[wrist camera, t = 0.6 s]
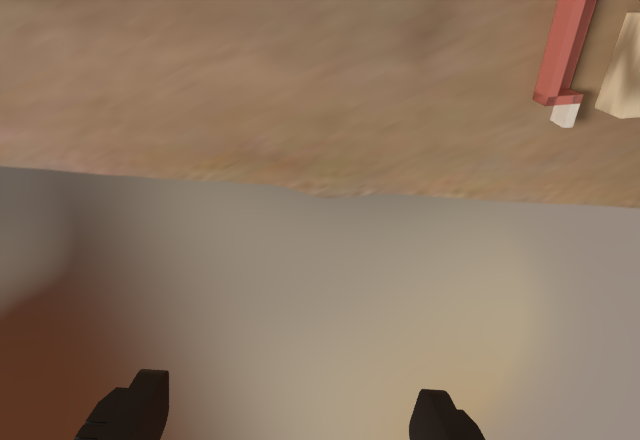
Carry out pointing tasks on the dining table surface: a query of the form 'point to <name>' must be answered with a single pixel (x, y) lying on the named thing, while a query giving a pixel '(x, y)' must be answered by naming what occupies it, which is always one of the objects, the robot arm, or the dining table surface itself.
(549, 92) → the trap lane
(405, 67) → the dining table surface
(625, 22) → the birch block
